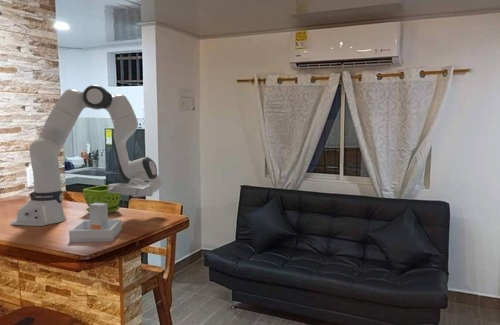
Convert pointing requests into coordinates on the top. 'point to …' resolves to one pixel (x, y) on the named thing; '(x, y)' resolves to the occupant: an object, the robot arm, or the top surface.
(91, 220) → the skincare box
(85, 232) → the grey square tray
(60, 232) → the top surface
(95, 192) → the flower pot
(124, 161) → the robot arm
